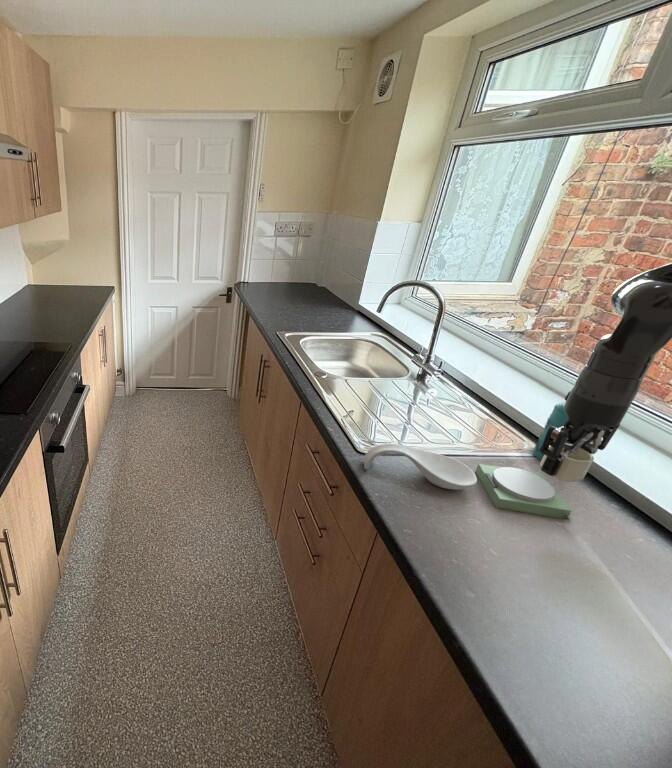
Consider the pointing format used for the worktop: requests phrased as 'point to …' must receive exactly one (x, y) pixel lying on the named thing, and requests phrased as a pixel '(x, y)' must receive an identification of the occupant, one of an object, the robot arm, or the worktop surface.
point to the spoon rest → (429, 465)
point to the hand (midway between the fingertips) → (561, 469)
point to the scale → (521, 491)
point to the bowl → (573, 465)
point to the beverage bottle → (556, 420)
